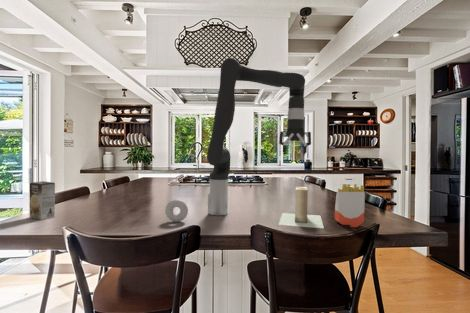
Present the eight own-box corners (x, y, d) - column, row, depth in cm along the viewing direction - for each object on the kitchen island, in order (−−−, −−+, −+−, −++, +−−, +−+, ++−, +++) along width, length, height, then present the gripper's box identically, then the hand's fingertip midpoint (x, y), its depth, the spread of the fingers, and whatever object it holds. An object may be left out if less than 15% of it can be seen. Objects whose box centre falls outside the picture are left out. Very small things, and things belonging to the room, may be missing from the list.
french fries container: (334, 224, 120) (335, 182, 119) (358, 224, 120) (359, 183, 119) (338, 226, 115) (339, 184, 114) (364, 227, 115) (365, 184, 115)
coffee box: (28, 217, 124) (28, 182, 124) (43, 214, 130) (43, 181, 130) (41, 220, 121) (40, 183, 120) (55, 217, 126) (55, 182, 126)
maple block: (295, 216, 127) (294, 222, 118) (295, 186, 127) (295, 189, 117) (306, 217, 126) (307, 223, 117) (307, 187, 126) (307, 190, 116)
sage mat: (278, 227, 114) (278, 224, 114) (282, 215, 135) (282, 213, 135) (323, 230, 109) (323, 228, 109) (320, 217, 131) (320, 215, 131)
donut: (164, 222, 119) (164, 199, 118) (166, 220, 122) (166, 198, 122) (187, 223, 118) (187, 200, 118) (188, 221, 122) (188, 198, 122)
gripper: (279, 118, 124) (278, 153, 125) (312, 118, 121) (310, 154, 121) (280, 119, 131) (279, 153, 132) (311, 119, 128) (310, 154, 128)
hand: (294, 154), depth 127 cm, fingers open, 8 cm apart
